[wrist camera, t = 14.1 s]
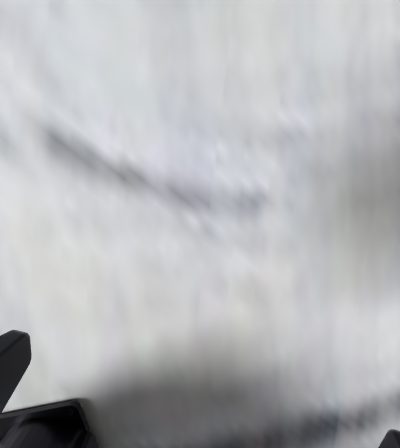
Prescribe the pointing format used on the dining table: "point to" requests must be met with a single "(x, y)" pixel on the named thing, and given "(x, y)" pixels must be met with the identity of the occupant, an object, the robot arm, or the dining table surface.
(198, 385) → the dining table surface
